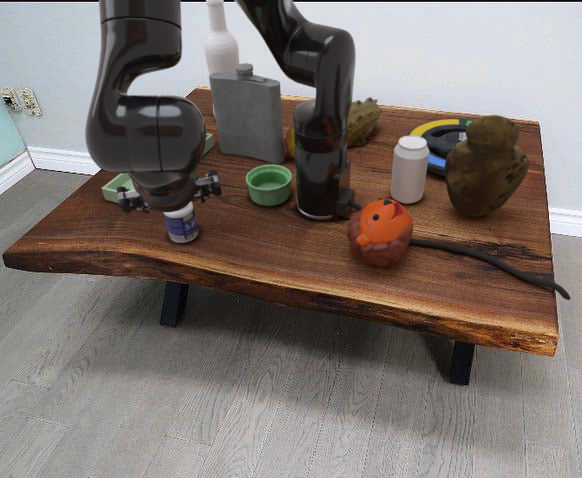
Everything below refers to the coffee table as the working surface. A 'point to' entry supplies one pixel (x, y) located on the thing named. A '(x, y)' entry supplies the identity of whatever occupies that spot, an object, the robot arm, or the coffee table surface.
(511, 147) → the sculpture
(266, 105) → the hip flask
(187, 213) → the pill bottle
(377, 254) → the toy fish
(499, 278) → the coffee table surface
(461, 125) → the electronic game
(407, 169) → the beverage can
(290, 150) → the fruit
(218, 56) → the bottle
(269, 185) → the ramekin
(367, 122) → the seashell
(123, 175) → the tray
